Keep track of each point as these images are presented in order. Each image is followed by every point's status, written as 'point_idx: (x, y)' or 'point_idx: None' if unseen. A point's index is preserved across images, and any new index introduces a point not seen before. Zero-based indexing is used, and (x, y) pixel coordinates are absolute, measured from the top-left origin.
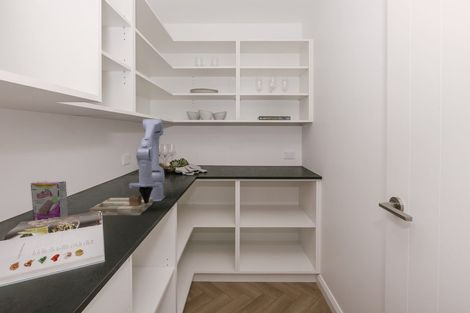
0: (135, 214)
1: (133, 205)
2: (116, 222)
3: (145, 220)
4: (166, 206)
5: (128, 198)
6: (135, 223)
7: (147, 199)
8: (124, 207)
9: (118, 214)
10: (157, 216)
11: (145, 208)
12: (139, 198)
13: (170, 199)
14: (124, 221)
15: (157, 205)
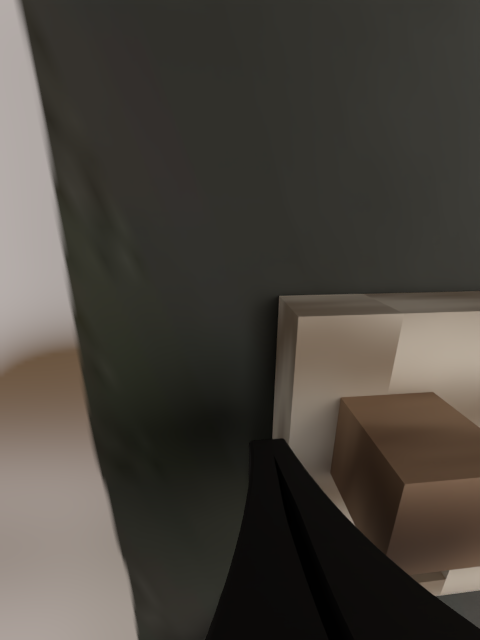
0: (324, 296)
1: (396, 398)
2: (453, 72)
3: (158, 119)
4: (124, 505)
5: (477, 576)
6: (237, 10)
7: (250, 479)
8: (477, 349)
9: (476, 293)
10: (80, 251)
11: (276, 429)
12: (375, 499)
13: (164, 630)
14: (379, 101)
15: (213, 519)
